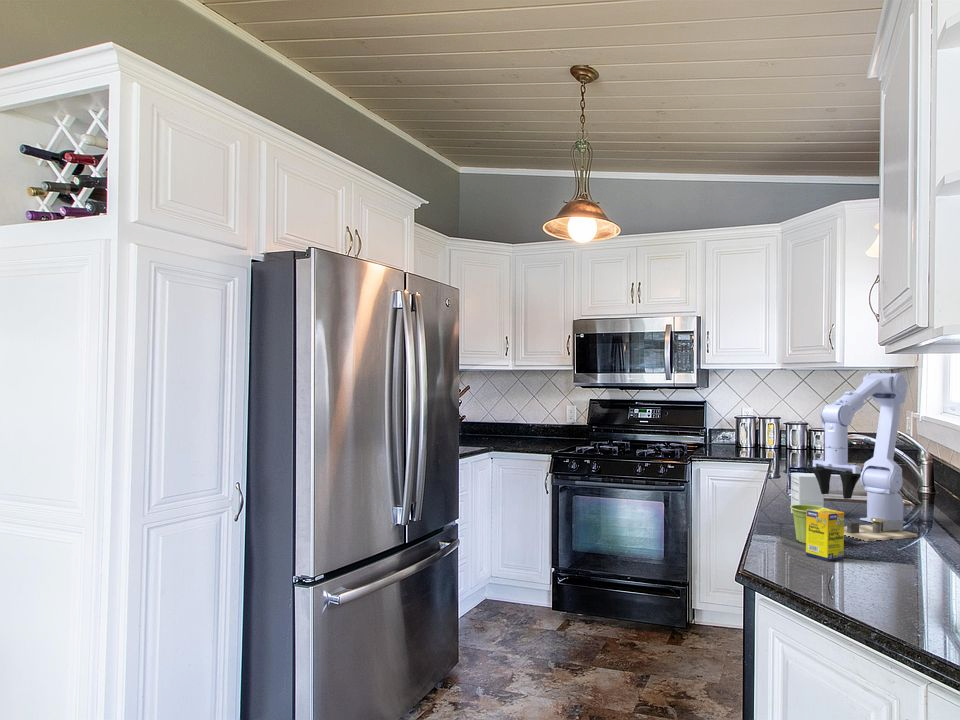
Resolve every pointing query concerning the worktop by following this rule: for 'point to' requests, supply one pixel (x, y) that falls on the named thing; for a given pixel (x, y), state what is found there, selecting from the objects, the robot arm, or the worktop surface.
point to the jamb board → (874, 532)
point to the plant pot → (801, 520)
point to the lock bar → (889, 524)
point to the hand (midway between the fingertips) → (836, 496)
